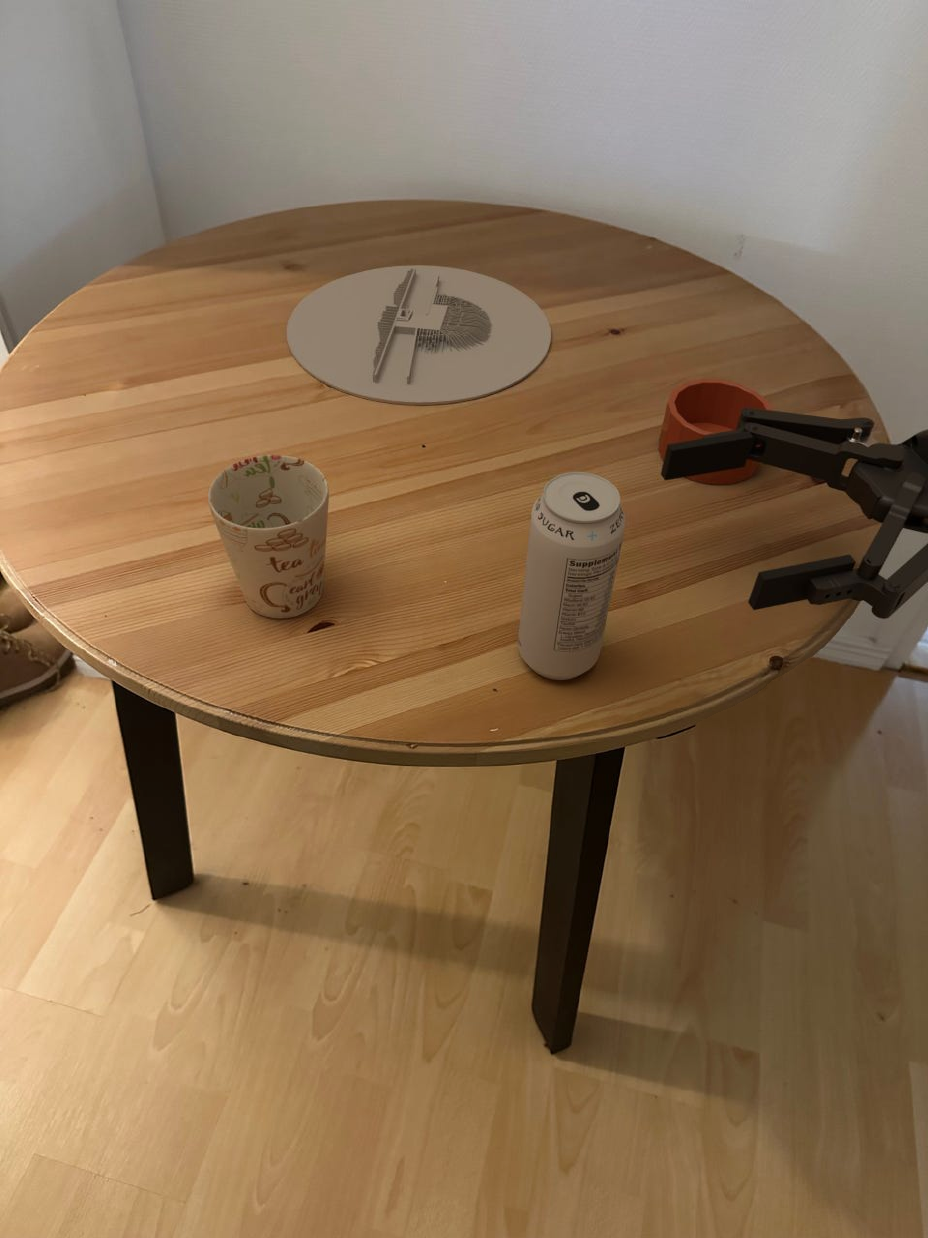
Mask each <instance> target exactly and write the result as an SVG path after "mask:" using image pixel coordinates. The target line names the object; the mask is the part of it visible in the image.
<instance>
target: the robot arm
mask: <svg viewBox="0 0 928 1238" xmlns="http://www.w3.org/2000/svg"><path fill="white" fill-rule="evenodd" d="M772 410H773V409H772ZM772 410H764V409H756V408H743V409H742V410H741V414H740V417H739V420H738V424H737V427H736V430H732V431H726V432H720V433H715V434H714V433H713V434H707V435H705V436H703V437H702V439H698V440H692V441H686V442H680V443H673V444H668V445H667V449H666V454H665V458H664V461H663V463H662V467H661V472H660V475H661V477H662V478H663V480H664V481H670V480H676V479H683V478H685V477H689V476H694V475H700V474H706V473H712V472H718V471H724V470H730V469H736V468H742V467H745V464H746V461H747V459H749V460H752V461H756V462H760V464H763V465H767V466H770V467H771V466H772V467H775V468H778V469H782V470H786V471H790V472H793V473H796V474H800V475H804V476H808V477H811V478H815V479H819V480H822V481H825V482H826V485H827V486H828V487H829V488H831V489H833V490H837V491H841V492H844V493H845V494H846V495H847V496H848V497H849V499H850V500H852V501H853V502H854V503H856V504H857V505H858V506H859V507H860V509H861V512H862V513H863V515H864V516H865V517H866V518H867V519H868V520H874V521H876V522H877V523H880V524H881V525H880V527H879V528H878V530H877V532H876V534H875V536H874V538H873V539H872V540H871V541H872V542H871V543H870V545H869V547H868V548H867V551H866V553H865V554H864V555H863V556H862V559H861V561H860V563H859V566H858V567H857V568H855V566H856V564H857V561H856V560H855V558H854V557H853V556H852V555H851V554H844V555H838V556H834V557H829V558H824V559H820V560H814V561H809V562H803V563H798V564H793V565H789V566H783V567H777V568H773V569H768V570H762V571H758V573H757V576H756V578H755V581H754V584H753V587H752V590H751V593H750V596H749V598H748V601H747V602H748V604H749V606H750V607H751V609H752V610H753V611H757V610H762V609H767V608H771V607H777V606H782V605H786V604H791V603H797V602H801V601H808V603H809V604H810V605H815V606H821V605H827V604H831V603H836V602H841V601H846V600H850V599H851V600H853V601H857V602H862V601H864V602H865V603H866V604H868V605H870V607H871V613H872V615H873V616H875V617H876V618H878V619H882V620H886V619H889V618H890V617H892V616H893V614H895V613H896V612H897V611H898V610H899V609H900V608H901V607H902V606H904V604H905V603H906V602H908V601H909V600H910V599H911V598H912V597H913V596H914V595H915V594H916V593H917V592H919V591H920V590H921V589H922V588H923V587H924V586H925V585H926V584H927V583H928V542H927V543H926V544H925V545H924V546H923V547H921V548H920V550H918V551H917V552H916V553H915V554H914V555H912V556H911V557H910V558H909V559H908V560H907V561H906V562H904V564H902V566H900V567H899V568H898V569H896V570H895V572H894V573H892V574H891V575H890V576H889V577H888V578H887V579H886V578H885V577H883V576H882V575H880V572H881V570H882V568H883V567H884V564H885V562H886V561H887V559H888V558H889V555H890V553H891V551H892V549H893V548H894V546H895V544H896V542H897V540H898V539H899V536H900V534H901V532H902V531H903V529H904V530H908V531H909V530H910V531H914V532H917V533H922V534H927V535H928V429H924V430H921V431H919V432H917V433H915V434H913V435H912V436H910V437H909V438H908V439H905V440H904V441H902V442H900V443H885V442H878V441H877V438H875V437H874V435H873V434H872V431H873V429H874V427H875V422H874V420H873V419H871V418H869V417H851V418H835V417H827V416H821V415H811V414H802V413H795V412H789V411H788V412H787V411H786V412H785V411H780V410H779V411H778V410H773V411H772ZM756 445H761V446H759V447H756ZM850 459H853V460H856V462H855V463H854V464H853V465H852V466H851V469H850V471H849V474H848V476H847V475H844V474H843V471H844V468H845V467H846V463H847V461H848V460H850Z"/></svg>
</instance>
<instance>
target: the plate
mask: <svg viewBox="0 0 928 1238" xmlns="http://www.w3.org/2000/svg"><path fill="white" fill-rule="evenodd" d="M550 325H551V324H550V322H549V319H548V318H547V315H546V314H545V312H544V311H543V310H542V308H541V307H540V306H539V305H538V304H537V302H535V301H534V300H533V299H532V298H530V297H529V296H528V295H526V294H525V293H524V292H522V291H521V290H519V289H517V288H516V287H514V286H512V285H510V284H508V283H507V282H504V281H502V280H499V279H497V278H495V277H491V276H490V275H485V274H482V273H479V272H474V271H470V270H466V269H461V268H456V267H449V266H439V265H426V264H425V265H424V264H423V265H422V264H421V265H420V264H416V265H415V264H414V265H413V264H412V265H394V266H385V267H378V268H372V269H367V270H363V271H359V272H356V273H351V274H349V275H345V276H343V277H340V278H337V279H335V280H332V281H330V282H328V283H326V284H324V285H321V286H320V287H318V288H316V289H315V290H313V291H312V292H310V293H309V294H308V295H306V296H305V297H304V298H303V299H302V300H300V302H299V303H298V304H297V305H296V306H295V308H294V309H293V310H292V312H291V314H290V315H289V318H288V321H287V324H286V341H287V342H286V343H287V345H288V346H287V347H288V349H289V351H290V353H291V355H292V357H293V359H294V360H295V362H297V363H298V364H299V366H300V367H301V368H302V369H303V370H305V372H307V373H308V374H310V375H311V376H312V377H313V378H315V379H316V380H318V381H319V382H321V383H323V384H325V385H327V386H329V387H331V388H333V389H335V390H337V391H339V392H342V393H345V394H348V395H350V396H354V397H357V398H361V399H364V400H369V401H375V402H379V403H380V402H381V403H386V404H394V405H403V406H404V405H405V406H406V405H407V406H436V405H437V406H438V405H450V404H456V403H462V402H467V401H468V402H469V401H471V400H477V399H481V398H484V397H487V396H490V395H492V394H495V393H498V392H502V391H503V390H506V389H509V388H511V387H512V386H515V385H516V384H518V383H521V382H522V381H523V380H525V379H526V378H527V377H529V376H530V375H531V374H532V373H534V372H535V371H536V370H537V369H538V368H539V367H540V366H541V364H542V363H543V362H544V361H545V359H546V357H547V355H548V353H549V351H550V346H551V342H552V328H551V326H550Z"/></svg>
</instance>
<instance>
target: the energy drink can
mask: <svg viewBox="0 0 928 1238" xmlns="http://www.w3.org/2000/svg"><path fill="white" fill-rule="evenodd" d="M530 513H531V514H530V522H529V529H528V530H529V531H528V539H527V540H528V541H527V550H526V560H525V569H524V578H523V579H524V580H523V589H522V590H523V591H522V598H521V608H520V617H519V627H518V637H517V649H518V653H519V655H520V656H521V658H522V659H523V661H524V663H526V664H527V665H528V667H529V668H530V669H531V670H532V671H533V672H534V673H536V674H538V675H539V676H542V677H543V678H547V679H550V680H557V681H565V680H572V679H574V678H577V677H578V676H580V675H582V674H584V673H586V672H587V671H589V670H590V669H592V667H594V666H595V664H596V663H597V662H598V660H599V658H600V654H601V649H602V643H603V639H604V635H605V630H606V626H607V625H606V624H607V619H608V615H609V609H610V605H611V601H612V600H611V599H612V594H613V590H614V585H615V579H616V574H617V571H618V565H619V559H620V555H621V550H622V545H623V541H624V540H623V539H624V534H625V529H626V526H627V525H626V524H627V523H626V522H627V518H626V514H625V511H624V510H623V508H622V505H621V495H620V492H619V490H618V489H617V487H616V486H615V485H614V484H613V483H612V482H611V481H609V480H608V479H606V478H605V477H602V476H600V475H598V474H594V473H591V472H585V471H584V472H583V471H571V472H564V473H561V474H558V475H556V476H554V477H552V478H551V479H550V480H549V481H548V482H547V483H546V484H545V486H544V487H543V492H542V494H541V495H540V496H539V497H538V498H537V499H536V500H535V501H534V503H533V505H532V508H531V512H530Z"/></svg>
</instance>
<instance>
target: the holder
mask: <svg viewBox="0 0 928 1238" xmlns="http://www.w3.org/2000/svg"><path fill="white" fill-rule="evenodd" d="M743 408H756V409H764V410H772V411H774V410H773V407H772V405H771V403H770V402H769V401H768V400H767V399H766V398H765V397H764V396H763V395H761V393H759V392H758V391H756V390H755V389H752V388H750V387H748V386H746V385H744V384H741V383H739V382H733V381H730V380H725V379H718V378H717V379H716V378H713V379H711V378H699V379H695V380H690V381H687V382H683V383H682V384H680V385H679V386H678V387H676V388H674V389H673V390H672V391H671V393H670V395H669V397H668V400H667V403H666V407H665V412H664V417H663V421H662V426H661V430H660V434H659V440H658V452H659V455H660V458H661V459H662V461H663V462H664V458H665V454H666V449H667V445H668V444H673V443H680V442H686V441H692V440H698V439H702V437H703V436H705V435H707V434H713V433H714V434H715V433H720V432H726V431H732V430H736V427H737V424H738V420H739V417H740V414H741V410H742V409H743ZM759 446H761V445H756V447H759ZM760 464H761V463H760V462H756V461H752V460H749V459H747V461H746V464H745V467H742V468H736V469H730V470H724V471H718V472H712V473H706V474H700V475H694V476H689V477H684V478H686V479H688V480H691V481H694V482H696V483H701V484H706V485H717V486H721V485H726V486H727V485H733V484H737V483H740V482H743V481H745V480H747V479H749V478H751V477H752V476H753V475H754V474H755V473H756V472H757V471H758V469H759V467H760Z"/></svg>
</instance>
